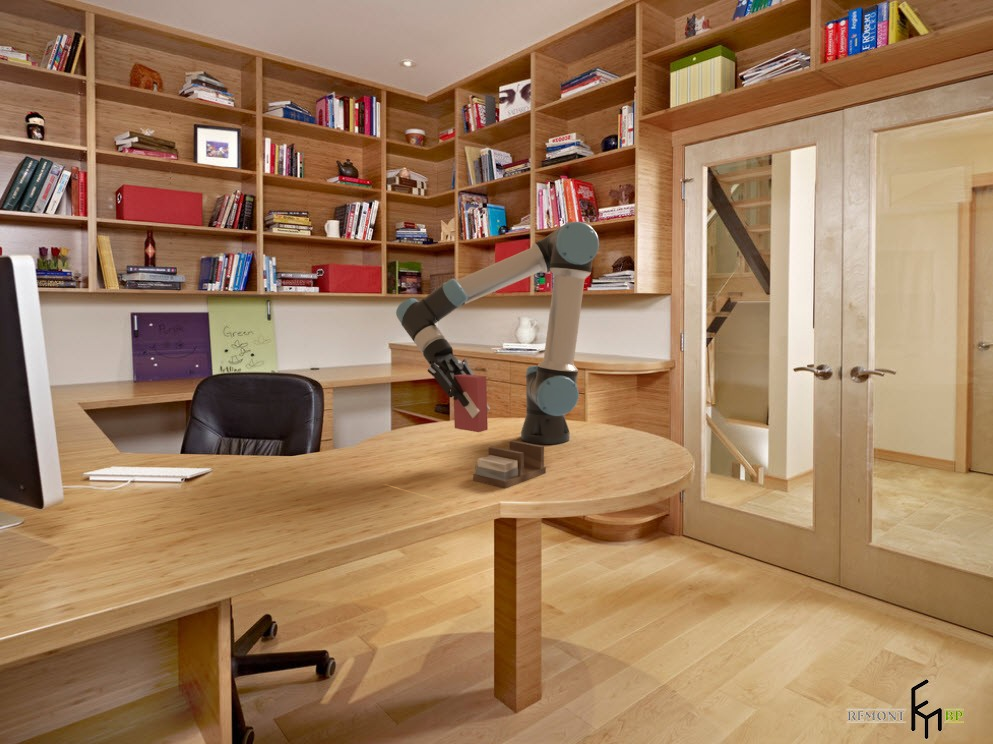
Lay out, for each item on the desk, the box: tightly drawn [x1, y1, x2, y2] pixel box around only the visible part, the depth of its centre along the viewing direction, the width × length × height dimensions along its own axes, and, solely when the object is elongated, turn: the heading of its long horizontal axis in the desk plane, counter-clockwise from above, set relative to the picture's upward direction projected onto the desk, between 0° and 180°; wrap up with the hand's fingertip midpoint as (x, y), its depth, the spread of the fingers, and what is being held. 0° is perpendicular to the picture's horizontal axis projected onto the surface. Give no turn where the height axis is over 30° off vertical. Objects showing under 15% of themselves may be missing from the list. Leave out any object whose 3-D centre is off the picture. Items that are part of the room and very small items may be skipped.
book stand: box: [472, 440, 547, 489], centre depth 152 cm, size 16×10×7 cm, turn 140°
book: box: [453, 374, 489, 433], centre depth 161 cm, size 4×9×14 cm, turn 50°
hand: (481, 413), depth 159 cm, fingers closed on book, 3 cm apart
